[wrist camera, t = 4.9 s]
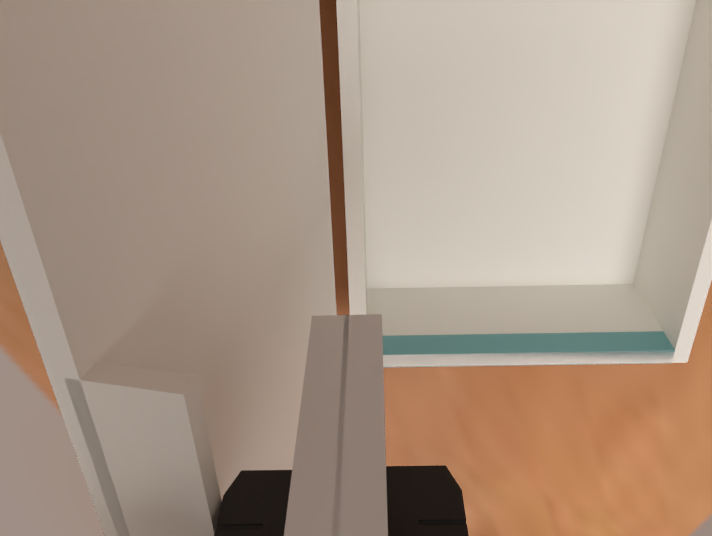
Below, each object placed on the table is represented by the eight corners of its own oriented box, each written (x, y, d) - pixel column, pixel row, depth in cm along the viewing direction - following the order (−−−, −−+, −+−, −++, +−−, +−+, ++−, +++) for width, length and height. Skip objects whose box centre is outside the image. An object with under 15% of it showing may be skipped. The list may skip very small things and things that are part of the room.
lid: (371, -132, 17) (289, -129, 17) (74, -104, 6) (-129, -98, 6) (380, 398, 26) (326, 391, 26) (270, 789, 15) (182, 765, 15)
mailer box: (339, -105, 22) (332, -96, 18) (732, -118, 22) (826, -113, 17) (354, 293, 31) (352, 367, 26) (639, 288, 30) (687, 362, 26)
